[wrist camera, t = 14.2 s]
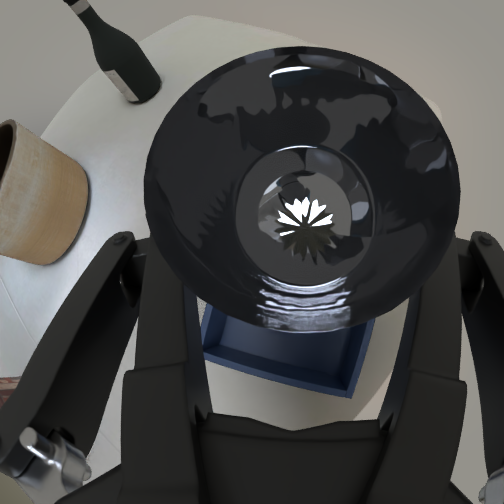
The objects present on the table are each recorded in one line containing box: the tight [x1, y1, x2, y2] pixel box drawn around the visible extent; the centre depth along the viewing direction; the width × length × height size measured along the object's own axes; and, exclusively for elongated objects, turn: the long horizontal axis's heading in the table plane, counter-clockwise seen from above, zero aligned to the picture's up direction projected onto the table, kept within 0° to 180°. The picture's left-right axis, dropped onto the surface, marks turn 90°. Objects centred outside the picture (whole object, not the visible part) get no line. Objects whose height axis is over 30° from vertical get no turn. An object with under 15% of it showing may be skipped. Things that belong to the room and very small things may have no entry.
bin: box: [200, 303, 375, 399], centre depth 33 cm, size 18×15×8 cm
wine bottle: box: [63, 0, 161, 103], centre depth 35 cm, size 8×8×30 cm
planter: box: [0, 119, 88, 265], centre depth 39 cm, size 22×22×20 cm
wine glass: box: [144, 46, 461, 333], centre depth 13 cm, size 8×8×15 cm
